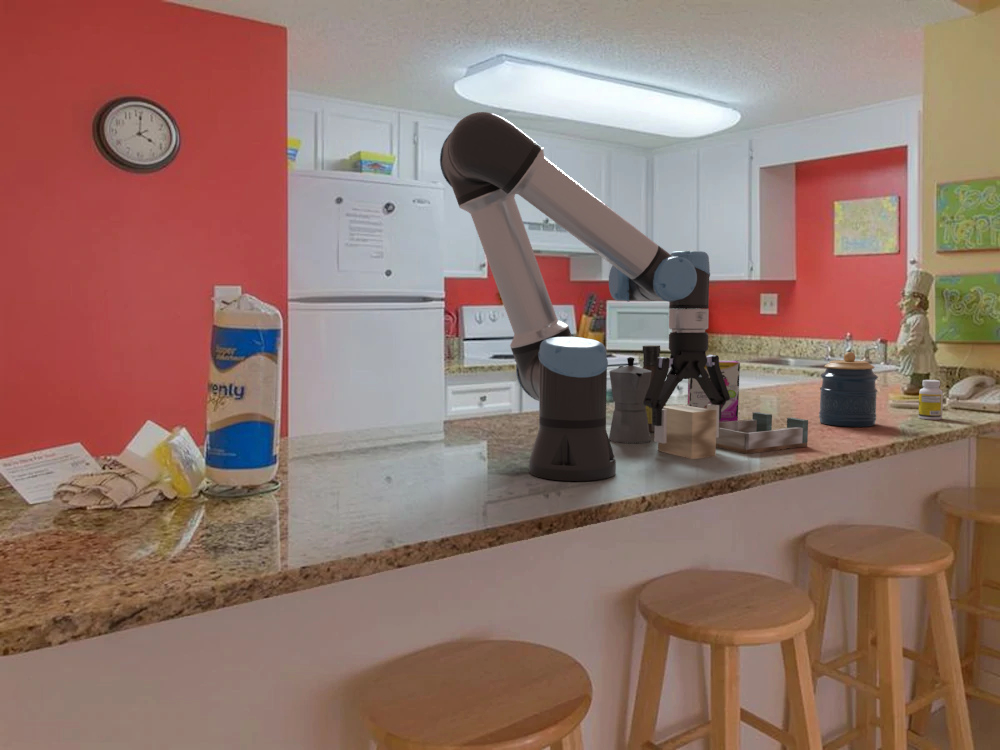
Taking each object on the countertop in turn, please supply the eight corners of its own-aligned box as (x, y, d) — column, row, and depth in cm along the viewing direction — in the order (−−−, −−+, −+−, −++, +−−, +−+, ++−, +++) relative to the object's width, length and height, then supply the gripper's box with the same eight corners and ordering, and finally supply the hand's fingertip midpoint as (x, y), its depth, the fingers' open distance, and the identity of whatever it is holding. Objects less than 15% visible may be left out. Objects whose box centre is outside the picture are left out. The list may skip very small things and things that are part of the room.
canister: (808, 420, 206) (810, 350, 204) (854, 419, 208) (857, 350, 207) (838, 428, 193) (841, 354, 191) (887, 426, 195) (890, 353, 194)
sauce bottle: (659, 428, 194) (661, 344, 192) (670, 432, 188) (671, 345, 186) (634, 429, 193) (635, 344, 191) (643, 433, 186) (644, 346, 185)
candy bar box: (688, 432, 188) (690, 361, 186) (686, 429, 193) (687, 359, 191) (738, 433, 186) (740, 361, 185) (734, 429, 191) (736, 359, 190)
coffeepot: (660, 444, 171) (662, 359, 170) (616, 445, 170) (618, 359, 169) (638, 433, 187) (639, 354, 185) (598, 434, 185) (599, 354, 184)
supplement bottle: (923, 416, 213) (925, 379, 212) (945, 418, 209) (947, 380, 208) (914, 418, 210) (916, 380, 209) (936, 420, 205) (938, 381, 204)
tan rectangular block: (691, 459, 156) (692, 412, 155) (658, 450, 165) (658, 406, 164) (715, 456, 159) (716, 410, 158) (681, 448, 167) (682, 404, 167)
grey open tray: (746, 453, 161) (746, 426, 161) (697, 442, 173) (698, 417, 173) (807, 446, 169) (808, 420, 168) (756, 436, 181) (757, 412, 181)
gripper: (650, 333, 150) (649, 447, 152) (749, 330, 162) (747, 437, 164) (625, 331, 157) (624, 441, 159) (722, 329, 169) (720, 431, 170)
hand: (686, 439), depth 161 cm, fingers open, 12 cm apart
